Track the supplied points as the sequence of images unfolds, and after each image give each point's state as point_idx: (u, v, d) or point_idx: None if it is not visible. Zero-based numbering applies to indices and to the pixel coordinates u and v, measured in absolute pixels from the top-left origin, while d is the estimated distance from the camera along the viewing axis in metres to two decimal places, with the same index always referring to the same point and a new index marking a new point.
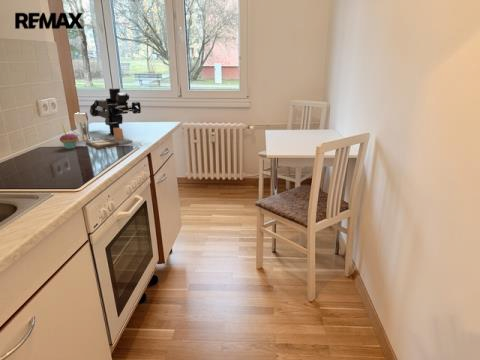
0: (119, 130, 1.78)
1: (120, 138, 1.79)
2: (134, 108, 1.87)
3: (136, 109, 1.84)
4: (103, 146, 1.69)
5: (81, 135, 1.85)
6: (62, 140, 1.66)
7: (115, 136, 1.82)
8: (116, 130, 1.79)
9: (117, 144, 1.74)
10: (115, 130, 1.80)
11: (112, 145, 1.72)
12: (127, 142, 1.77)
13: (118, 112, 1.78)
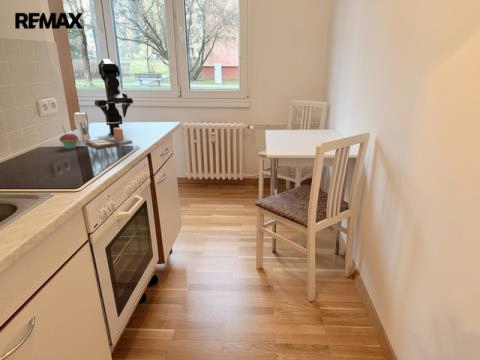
0: (119, 130, 1.78)
1: (120, 138, 1.79)
2: (123, 105, 1.79)
3: (123, 111, 1.80)
4: (103, 146, 1.69)
5: (81, 135, 1.85)
6: (62, 140, 1.66)
7: (115, 136, 1.82)
8: (116, 130, 1.79)
9: (117, 144, 1.74)
10: (115, 130, 1.80)
11: (112, 145, 1.72)
12: (127, 142, 1.77)
13: (104, 113, 1.74)
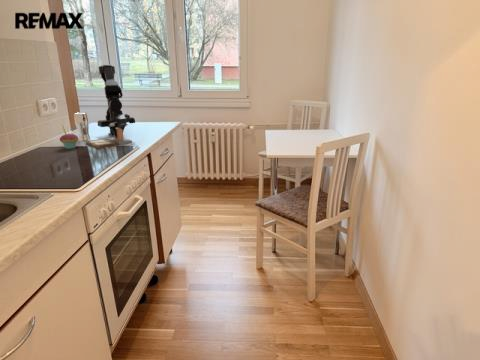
0: (119, 130, 1.78)
1: (120, 138, 1.79)
2: (120, 125, 1.81)
3: None
4: (103, 146, 1.69)
5: (81, 135, 1.85)
6: (62, 140, 1.66)
7: None
8: (116, 130, 1.79)
9: (117, 144, 1.74)
10: None
11: (112, 145, 1.72)
12: (127, 142, 1.77)
13: (112, 132, 1.79)
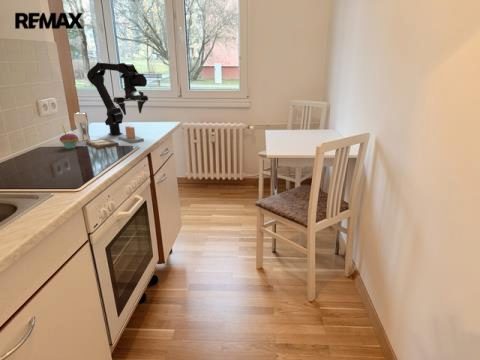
0: (131, 128, 1.82)
1: (132, 136, 1.84)
2: (139, 102, 1.93)
3: (139, 108, 1.94)
4: (103, 146, 1.69)
5: (81, 135, 1.85)
6: (62, 140, 1.66)
7: (127, 134, 1.86)
8: (128, 128, 1.83)
9: (117, 144, 1.74)
10: (127, 128, 1.84)
11: (112, 145, 1.72)
12: (139, 140, 1.82)
13: (122, 109, 1.88)
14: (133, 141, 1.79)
